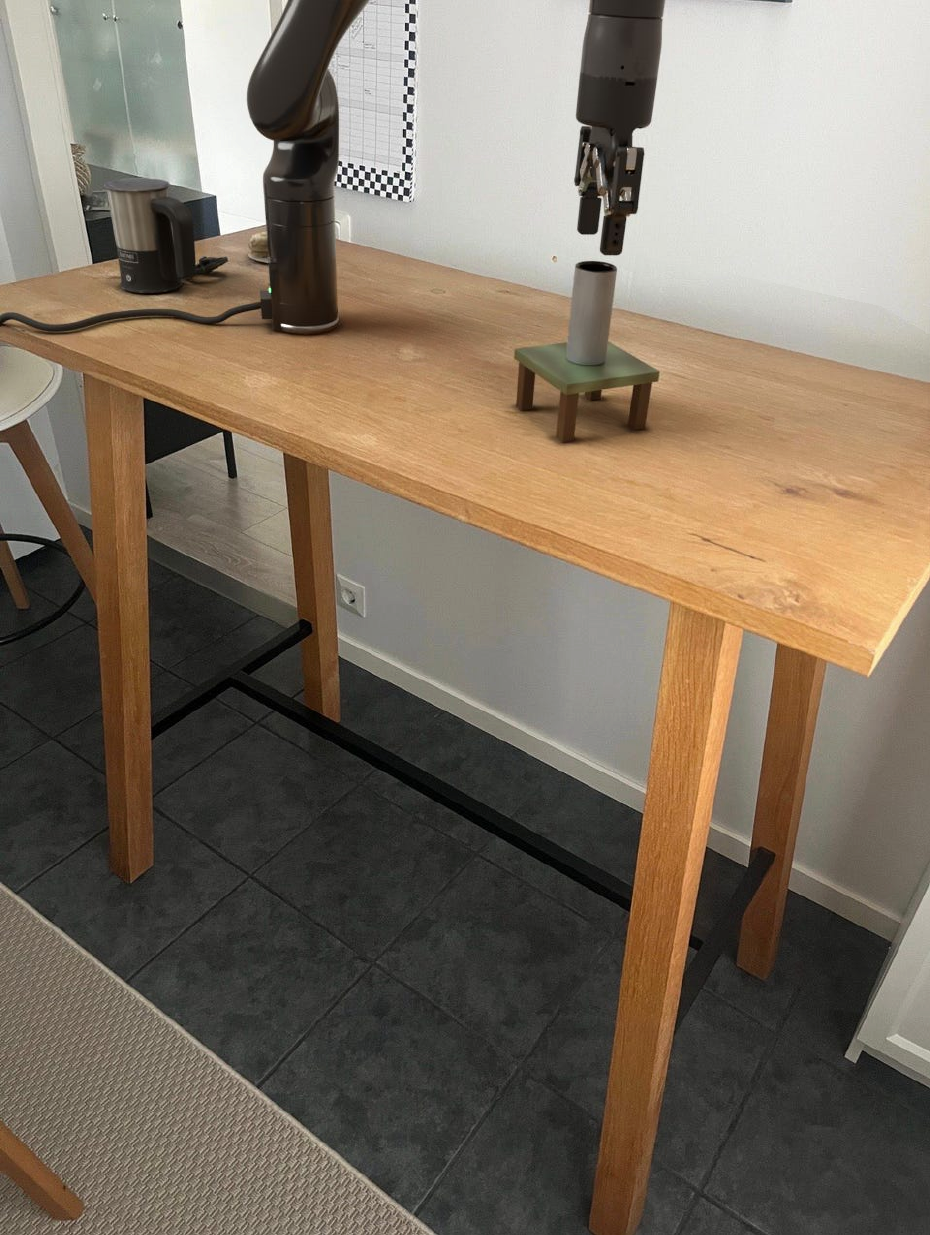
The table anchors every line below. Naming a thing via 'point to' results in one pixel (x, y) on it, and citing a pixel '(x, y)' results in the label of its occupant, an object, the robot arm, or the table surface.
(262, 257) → the cake
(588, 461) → the table surface
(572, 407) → the plant stand
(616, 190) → the robot arm
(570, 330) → the grey hollow tube
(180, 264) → the milk frother
